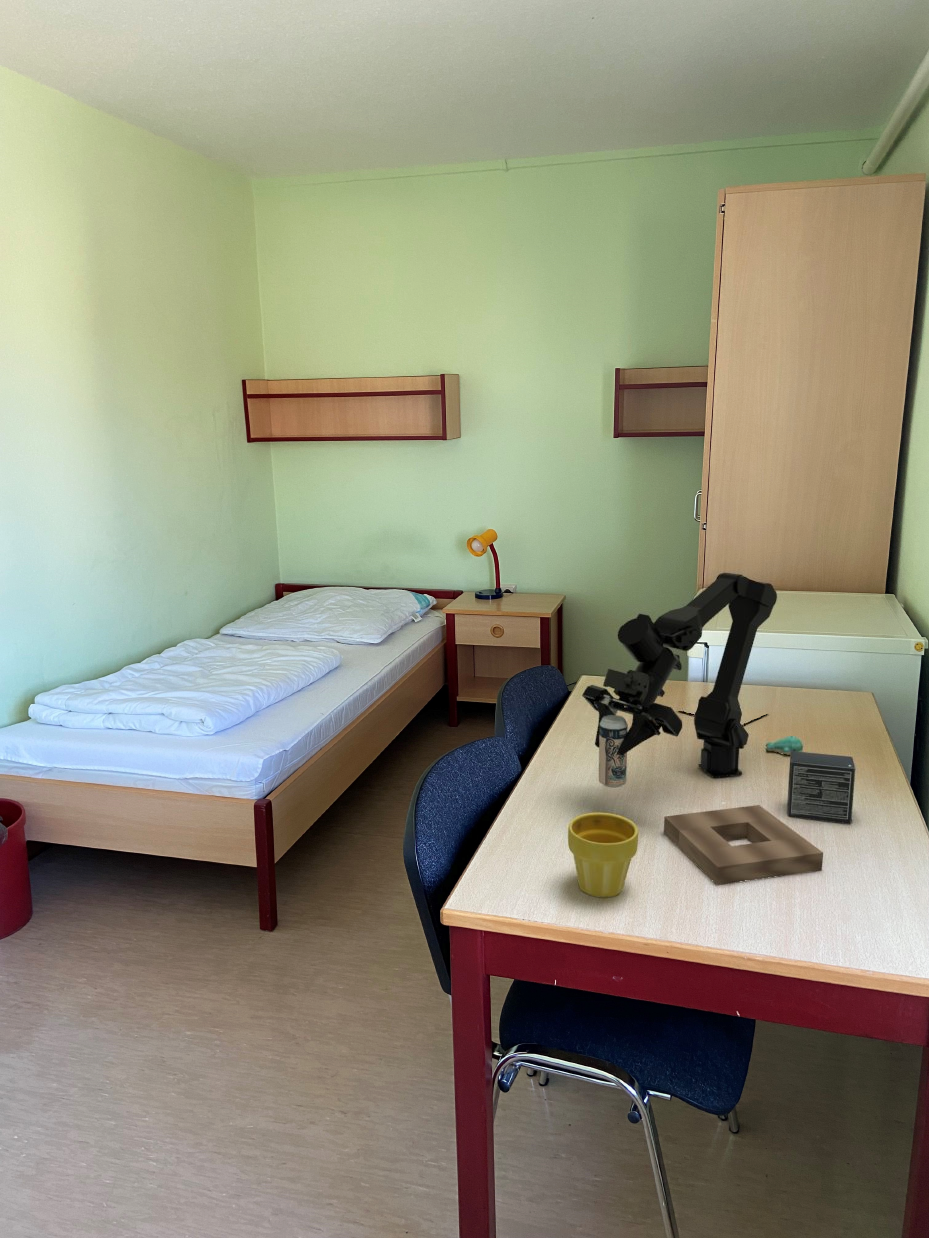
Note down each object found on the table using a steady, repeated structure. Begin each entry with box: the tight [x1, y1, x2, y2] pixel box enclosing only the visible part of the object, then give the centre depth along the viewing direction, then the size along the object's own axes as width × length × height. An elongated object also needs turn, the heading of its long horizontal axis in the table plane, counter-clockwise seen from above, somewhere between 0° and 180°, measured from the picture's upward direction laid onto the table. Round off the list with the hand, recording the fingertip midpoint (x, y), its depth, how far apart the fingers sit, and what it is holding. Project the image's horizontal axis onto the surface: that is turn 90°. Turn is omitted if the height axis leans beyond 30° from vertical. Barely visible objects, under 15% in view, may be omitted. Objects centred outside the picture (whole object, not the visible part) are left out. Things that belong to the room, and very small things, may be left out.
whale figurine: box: [765, 735, 804, 756], centre depth 183 cm, size 6×7×4 cm
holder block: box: [663, 804, 824, 886], centre depth 141 cm, size 18×18×3 cm
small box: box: [786, 751, 857, 825], centre depth 154 cm, size 11×6×10 cm, turn 71°
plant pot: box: [567, 812, 639, 898], centre depth 130 cm, size 10×10×10 cm
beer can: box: [598, 714, 629, 789], centre depth 151 cm, size 5×5×12 cm
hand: (607, 750), depth 150 cm, fingers closed on beer can, 5 cm apart
